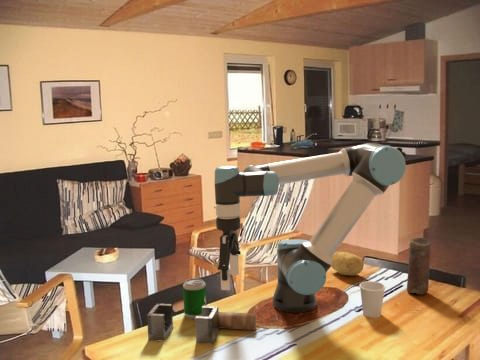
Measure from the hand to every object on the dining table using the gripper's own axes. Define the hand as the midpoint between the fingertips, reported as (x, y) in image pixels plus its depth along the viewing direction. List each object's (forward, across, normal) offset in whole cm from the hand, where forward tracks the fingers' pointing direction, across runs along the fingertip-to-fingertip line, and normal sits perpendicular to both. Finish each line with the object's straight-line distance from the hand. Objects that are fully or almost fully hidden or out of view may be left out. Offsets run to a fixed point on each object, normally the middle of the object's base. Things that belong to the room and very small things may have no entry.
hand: (230, 281), depth 158 cm
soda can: (+15, -6, -14) cm, 21 cm away
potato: (+15, -53, +37) cm, 66 cm away
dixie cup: (+15, -15, +45) cm, 49 cm away
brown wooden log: (+15, 0, 0) cm, 15 cm away
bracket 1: (+14, +9, -21) cm, 27 cm away
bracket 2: (+15, +9, -6) cm, 18 cm away
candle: (+15, -36, +62) cm, 74 cm away
